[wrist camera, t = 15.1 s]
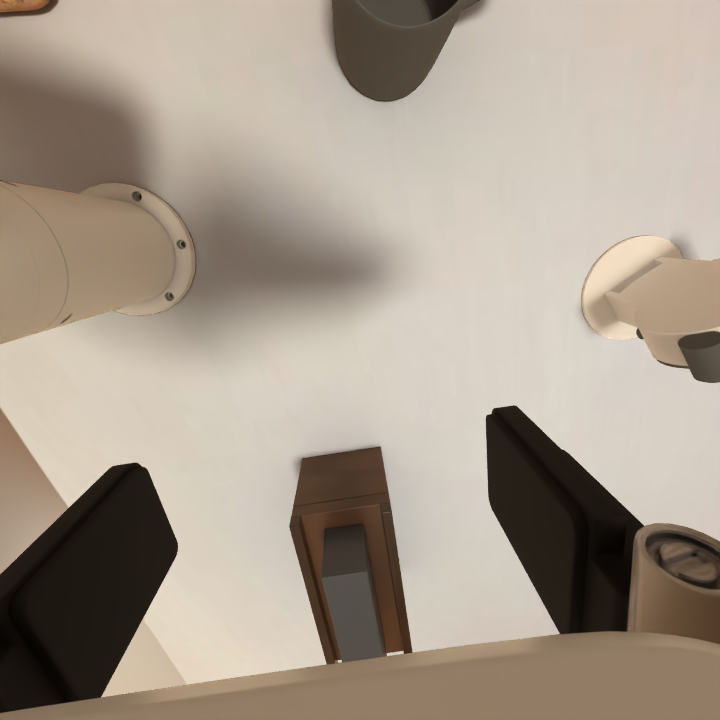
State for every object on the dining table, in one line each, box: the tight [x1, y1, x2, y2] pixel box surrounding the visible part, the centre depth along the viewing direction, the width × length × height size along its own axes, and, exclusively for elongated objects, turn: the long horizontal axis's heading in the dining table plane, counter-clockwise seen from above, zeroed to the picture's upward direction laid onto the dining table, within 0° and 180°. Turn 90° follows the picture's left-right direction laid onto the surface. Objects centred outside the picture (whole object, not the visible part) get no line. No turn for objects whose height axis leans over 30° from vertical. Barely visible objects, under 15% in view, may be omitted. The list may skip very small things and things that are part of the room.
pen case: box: [321, 524, 387, 662], centre depth 36 cm, size 4×18×6 cm, turn 9°
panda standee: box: [581, 236, 720, 383], centre depth 32 cm, size 12×11×15 cm
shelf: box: [289, 447, 413, 665], centre depth 43 cm, size 10×22×11 cm, turn 8°
